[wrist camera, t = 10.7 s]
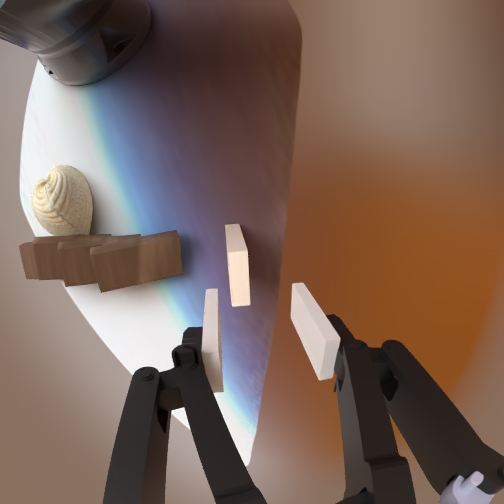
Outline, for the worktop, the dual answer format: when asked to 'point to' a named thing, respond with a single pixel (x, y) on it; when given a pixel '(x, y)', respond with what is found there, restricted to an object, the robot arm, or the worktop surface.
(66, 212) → the seashell
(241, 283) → the domino
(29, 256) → the domino
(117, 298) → the worktop surface
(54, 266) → the domino
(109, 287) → the domino
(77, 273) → the domino
